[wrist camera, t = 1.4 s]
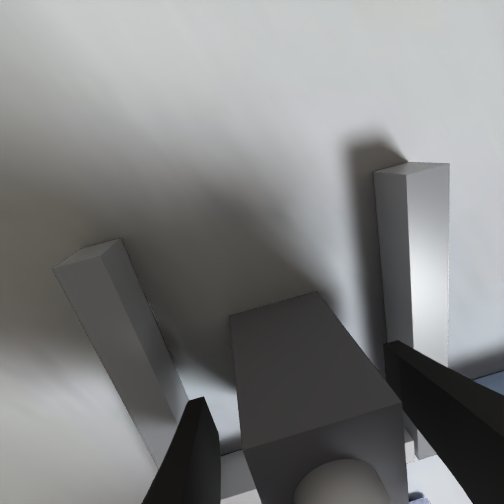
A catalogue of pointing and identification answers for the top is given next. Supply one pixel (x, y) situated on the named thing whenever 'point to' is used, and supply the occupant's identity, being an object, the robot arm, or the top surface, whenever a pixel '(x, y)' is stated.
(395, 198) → the cable duct
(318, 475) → the cord connector
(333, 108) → the top surface
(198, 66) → the top surface
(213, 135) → the top surface
